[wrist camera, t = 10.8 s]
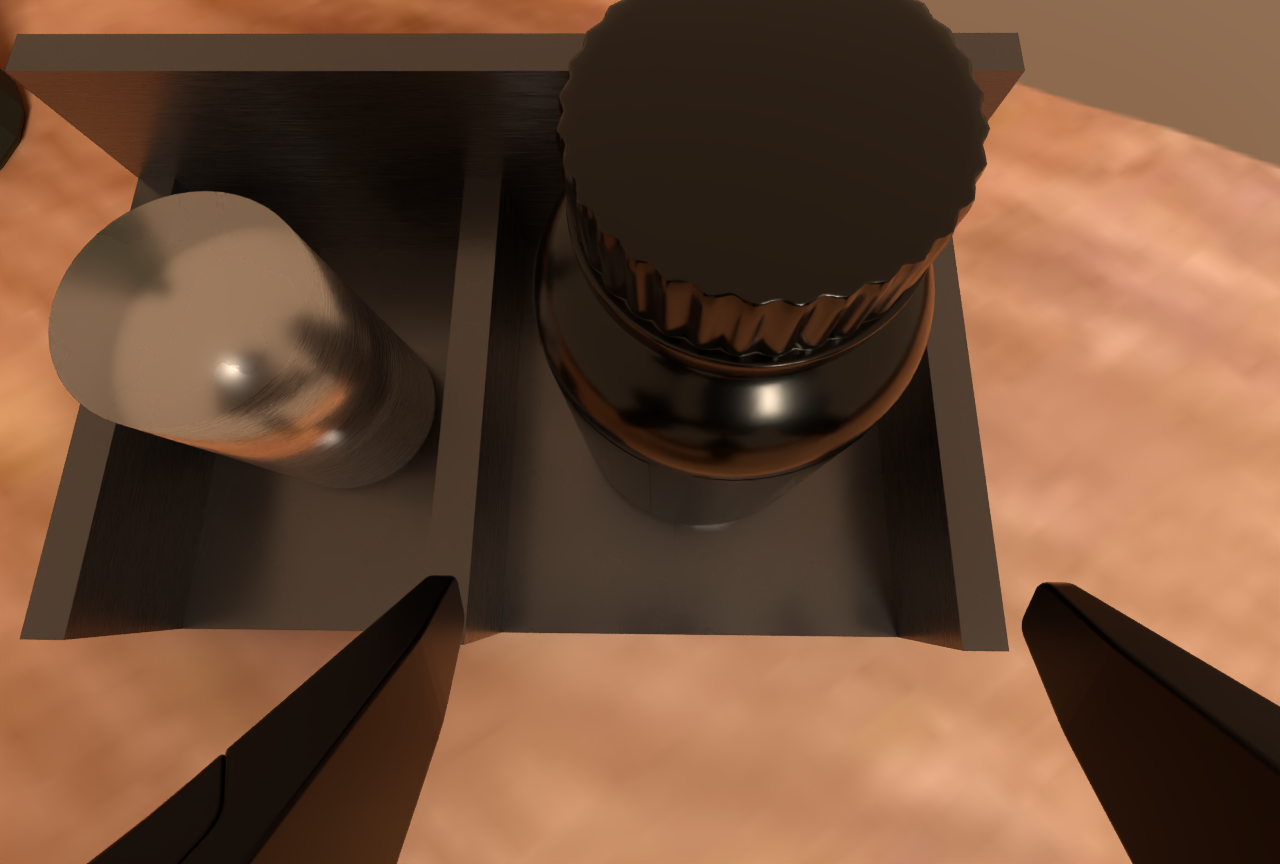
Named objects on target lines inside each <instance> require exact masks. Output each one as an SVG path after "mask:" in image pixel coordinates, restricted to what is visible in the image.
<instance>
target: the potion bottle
mask: <svg viewBox="0 0 1280 864" xmlns="http://www.w3.org/2000/svg"><path fill="white" fill-rule="evenodd" d="M24 119H25V115H24V110H23V106H22V102H21V99H20V95H19V92H18V88H17V85H16V83H15V82H14V81H13V80H12V79H11V78H10V77H9V76H8V75H7V74H6V73H5V72H4V71H2V70H1V69H0V170H1V169H2V167H3V166H4V164H5V163H6V161H7V160H8V159H9V157H10V156H11V154H12V153H13V151H14V150H15V149H16V147H17V146H18V144H19V141H20V137H21V133H22V128H23V124H24Z"/></svg>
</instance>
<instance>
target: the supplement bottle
mask: <svg viewBox="0 0 1280 864" xmlns="http://www.w3.org/2000/svg"><path fill="white" fill-rule="evenodd" d="M983 101H984V92H983V90H982V89H981V87H980V86H979V84H978V83H977V82H976V80H975V79H974V78H973V76H972V63H971V59H970V58H969V57H968V56H967V55H966V54H965V53H964V52H963V51H962V50H961V49H959V48H958V47H957V46H956V43H955V40H954V37H953V34H952V32H951V29H949V28H948V27H946V26H945V25H943V24H942V23H940V22H939V21H937V20H936V19H934V18H933V17H932V15H931V14H930V12H929V10H928V8H927V7H926V5H925V4H924V3H922V2H920V1H918V0H621V1H619V2H617V3H615V4H613V5H611V6H609V8H608V10H607V12H606V13H605V17H604V19H603V20H602V21H601V22H600V23H598V24H597V25H596V26H594V27H593V28H591V29H590V30H589V31H587V32H586V35H585V38H584V42H583V48H582V49H581V50H580V51H579V52H578V53H577V54H576V55H575V56H574V57H573V58H572V60H571V61H570V62H569V68H568V81H567V83H566V84H565V86H564V87H563V89H562V91H561V92H560V94H559V101H558V105H559V113H560V120H559V124H558V127H557V130H556V143H557V148H558V153H559V157H560V162H561V166H562V179H563V184H564V189H563V190H562V192H561V194H560V195H559V197H558V199H557V200H556V202H555V204H554V205H553V207H552V210H551V212H550V214H549V216H548V218H547V220H546V223H545V225H544V228H543V231H542V234H541V237H540V239H539V243H538V247H537V251H536V256H535V262H534V270H533V284H532V298H533V309H534V317H535V322H536V327H537V331H538V335H539V338H540V341H541V344H542V348H543V351H544V354H545V357H546V360H547V362H548V364H549V367H550V369H551V371H552V373H553V376H554V378H555V380H556V382H557V384H558V386H559V388H560V390H561V393H562V395H563V397H564V399H565V401H566V403H567V405H568V407H569V409H570V411H571V413H572V415H573V417H574V419H575V421H576V423H577V425H578V427H579V430H580V432H581V434H582V436H583V438H584V440H585V442H586V444H587V446H588V448H589V450H590V452H591V454H592V456H593V458H594V460H595V461H596V463H597V465H598V466H599V468H600V470H601V471H602V473H603V474H604V476H605V477H606V478H607V480H608V481H609V482H610V483H611V485H612V486H613V487H614V488H615V489H616V490H617V491H618V492H619V493H620V494H621V495H622V496H623V497H625V498H626V499H627V500H629V501H630V502H631V503H632V504H634V505H635V506H637V507H639V508H640V509H642V510H643V511H645V512H647V513H649V514H652V515H654V516H656V517H659V518H661V519H664V520H668V521H671V522H675V523H680V524H686V525H716V524H723V523H728V522H732V521H736V520H739V519H742V518H745V517H747V516H749V515H752V514H754V513H756V512H758V511H760V510H761V509H763V508H765V507H766V506H768V505H770V504H771V503H773V502H774V501H776V500H777V499H778V498H780V497H781V496H783V495H784V494H785V493H787V492H788V491H789V490H791V489H792V488H793V487H795V486H796V485H798V484H799V483H800V482H802V481H803V480H804V479H806V478H807V477H808V476H810V475H811V474H812V473H814V472H815V471H817V470H818V469H819V468H821V467H822V466H823V465H825V464H826V463H827V462H829V461H830V460H832V459H833V458H834V457H836V456H837V455H838V454H840V453H841V452H842V451H844V450H845V449H846V448H848V447H849V446H850V445H852V444H853V443H855V442H856V441H857V440H859V439H860V438H861V437H862V436H863V435H865V434H866V433H867V432H868V431H869V430H870V429H871V428H872V427H873V426H874V425H875V424H877V422H878V421H880V420H881V419H882V417H883V416H884V415H885V414H886V413H887V412H888V411H889V410H890V409H891V407H892V406H893V405H894V404H895V403H896V402H897V400H898V399H899V398H900V396H901V395H902V393H903V392H904V390H905V389H906V388H907V386H908V385H909V383H910V381H911V379H912V377H913V375H914V374H915V372H916V370H917V368H918V366H919V363H920V361H921V358H922V356H923V353H924V351H925V348H926V345H927V342H928V338H929V334H930V331H931V325H932V319H933V313H934V298H935V285H934V269H933V263H932V262H933V261H934V260H935V259H936V258H937V256H938V255H939V254H940V253H941V252H942V250H943V249H944V248H945V247H946V245H947V244H948V243H949V241H950V239H951V237H952V235H953V233H954V230H955V228H956V226H957V225H958V224H959V223H960V222H961V220H962V219H963V218H964V217H965V215H966V214H967V213H968V211H969V210H970V208H971V206H972V204H973V202H974V200H975V190H976V186H975V184H976V182H977V181H978V180H979V178H980V177H981V175H982V173H983V172H984V170H985V167H986V165H987V162H986V156H985V151H984V147H983V143H984V141H985V139H986V137H987V135H988V132H989V130H990V127H989V125H988V122H987V120H986V118H985V116H984V114H983V112H982V104H983Z"/></svg>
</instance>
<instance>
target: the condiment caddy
mask: <svg viewBox="0 0 1280 864" xmlns="http://www.w3.org/2000/svg"><path fill="white" fill-rule="evenodd" d="M952 34H953V37H954V40H955V43H956V46H957V47H958V48H959V49H961V50H962V51H963V52H964V53H965V54H966V55H967V56H968V57H969V58H970V59H971V63H972V76H973V78H974V79H975V80H976V82H977V83H978V84H979V86H980V87H981V89H982V90H983V92H984V101H983V104H982V112H983V114H984V116H985V118H986V120H987V121H988V120H989V119H990V117H991V116H992V115H993V113H994V112H995V111H996V109H997V108H998V106H999V105H1000V104H1001V102H1002V101H1003V100H1004V98H1005V97H1006V96H1007V94H1008V93H1009V92H1010V90H1011V89H1012V87H1013V86H1014V85H1015V83H1016V82H1017V81H1018V79H1019V78H1020V76H1021V75H1022V74H1023V72H1024V71H1025V69H1024V64H1023V58H1022V52H1021V48H1020V42H1019V37H1018V33H952ZM585 35H586V34H17V36H16V39H15V42H14V45H13V48H12V51H11V54H10V57H9V60H8V63H7V66H6V69H5V72H6V73H8V74H9V75H10V76H11V77H13V78H14V79H15V80H16V81H18V82H19V83H20V84H21V85H23V86H24V87H25V88H26V89H28V90H29V91H30V92H31V93H33V94H34V95H35V96H36V97H38V98H39V99H40V100H41V101H43V102H44V103H45V104H46V105H48V106H49V107H50V108H51V109H53V110H54V111H55V112H56V113H58V114H59V115H60V116H61V117H63V118H64V119H65V120H66V121H68V122H69V123H70V124H71V125H73V126H74V127H75V128H76V129H78V130H79V131H80V132H81V133H83V134H84V135H85V136H86V137H88V138H89V139H90V140H91V141H93V142H94V143H95V144H96V145H98V146H99V147H100V148H101V149H103V150H104V151H105V152H106V153H108V154H109V155H110V156H111V157H113V158H114V159H115V160H116V161H118V162H119V163H120V164H121V165H123V166H124V167H125V168H126V169H128V170H129V171H130V172H131V173H133V174H134V175H135V176H136V177H138V178H139V179H138V183H137V187H136V190H135V194H134V198H133V202H132V206H131V210H130V211H129V212H127V213H125V214H124V215H122V216H121V217H119V218H118V219H116V220H115V221H113V222H112V223H110V224H109V225H108V226H106V227H105V228H104V229H103V230H101V231H100V232H99V233H98V234H97V235H96V236H95V237H94V238H93V239H92V240H91V241H90V242H89V243H88V244H87V245H86V246H85V247H84V248H83V249H82V250H81V252H80V253H79V254H78V255H77V256H76V258H75V259H74V261H73V262H72V264H71V265H70V267H69V268H68V270H67V271H66V273H65V275H64V277H63V279H62V281H61V283H60V285H59V287H58V289H57V292H56V295H55V298H54V301H53V304H52V309H51V313H50V318H49V332H48V335H49V347H50V353H51V357H52V361H53V364H54V367H55V369H56V371H57V374H58V376H59V378H60V380H61V381H62V383H63V384H64V386H65V387H66V389H67V390H68V391H69V392H70V394H71V395H72V396H73V397H74V398H75V399H76V400H77V401H78V402H79V403H81V404H80V407H79V411H78V415H77V419H76V423H75V427H74V431H73V435H72V438H71V442H70V446H69V450H68V454H67V458H66V462H65V466H64V469H63V473H62V477H61V481H60V485H59V489H58V493H57V497H56V500H55V504H54V508H53V512H52V516H51V520H50V524H49V528H48V531H47V535H46V539H45V543H44V547H43V551H42V555H41V559H40V562H39V566H38V570H37V574H36V578H35V582H34V586H33V590H32V593H31V597H30V601H29V605H28V609H27V613H26V617H25V621H24V624H23V628H22V632H21V636H20V639H35V640H67V639H78V638H88V637H99V636H109V635H120V634H130V633H141V632H151V631H162V630H172V629H264V630H348V631H365V630H366V629H367V628H368V627H369V626H370V625H371V624H373V623H374V622H375V621H376V620H377V619H378V618H380V617H381V616H382V615H383V614H384V613H385V612H387V611H388V610H389V609H390V608H391V607H392V606H393V605H395V604H396V603H397V602H398V601H399V600H400V599H402V598H403V597H404V596H405V595H406V594H407V593H408V592H410V591H411V590H412V589H413V588H414V587H415V586H417V585H418V584H419V583H420V582H421V581H422V580H424V579H425V578H426V577H428V576H431V575H451V576H454V577H455V578H456V579H457V581H458V585H459V590H460V595H461V600H462V605H463V609H464V629H463V633H462V638H461V643H460V645H465V644H468V643H471V642H474V641H477V640H480V639H483V638H486V637H489V636H492V635H495V634H498V633H501V632H517V633H601V634H685V635H769V636H853V637H900V638H905V639H909V640H914V641H919V642H924V643H928V644H933V645H938V646H943V647H948V648H952V649H957V650H962V651H1009V646H1008V639H1007V632H1006V625H1005V617H1004V610H1003V603H1002V595H1001V588H1000V581H999V574H998V566H997V559H996V552H995V544H994V537H993V530H992V523H991V515H990V508H989V501H988V493H987V486H986V479H985V471H984V464H983V457H982V450H981V442H980V435H979V428H978V420H977V413H976V406H975V399H974V391H973V384H972V377H971V369H970V362H969V355H968V348H967V340H966V333H965V326H964V318H963V311H962V304H961V296H960V289H959V282H958V275H957V267H956V260H955V253H954V245H953V238H952V237H951V239H950V241H949V243H948V244H947V245H946V247H945V248H944V249H943V250H942V252H941V253H940V254H939V255H938V256H937V258H936V259H935V260H934V261H933V262H932V263H933V269H934V285H935V298H934V313H933V319H932V325H931V331H930V334H929V338H928V342H927V345H926V348H925V351H924V353H923V356H922V358H921V361H920V363H919V366H918V368H917V370H916V372H915V374H914V375H913V377H912V379H911V381H910V383H909V385H908V386H907V388H906V389H905V390H904V392H903V393H902V395H901V396H900V398H899V399H898V400H897V402H896V403H895V404H894V405H893V406H892V407H891V409H890V410H889V411H888V412H887V413H886V414H885V415H884V416H883V417H882V419H881V420H880V421H878V422H877V424H875V425H874V426H873V427H872V428H871V429H870V430H869V431H868V432H867V433H866V434H865V435H863V436H862V437H861V438H860V439H859V440H857V441H856V442H855V443H853V444H852V445H850V446H849V447H848V448H846V449H845V450H844V451H842V452H841V453H840V454H838V455H837V456H836V457H834V458H833V459H832V460H830V461H829V462H827V463H826V464H825V465H823V466H822V467H821V468H819V469H818V470H817V471H815V472H814V473H812V474H811V475H810V476H808V477H807V478H806V479H804V480H803V481H802V482H800V483H799V484H798V485H796V486H795V487H793V488H792V489H791V490H789V491H788V492H787V493H785V494H784V495H783V496H781V497H780V498H778V499H777V500H776V501H774V502H773V503H771V504H770V505H768V506H766V507H765V508H763V509H761V510H760V511H758V512H756V513H754V514H752V515H749V516H747V517H745V518H742V519H739V520H736V521H732V522H728V523H723V524H716V525H686V524H680V523H675V522H671V521H668V520H664V519H661V518H659V517H656V516H654V515H652V514H649V513H647V512H645V511H643V510H642V509H640V508H639V507H637V506H635V505H634V504H632V503H631V502H630V501H629V500H627V499H626V498H625V497H623V496H622V495H621V494H620V493H619V492H618V491H617V490H616V489H615V488H614V487H613V486H612V485H611V483H610V482H609V481H608V480H607V478H606V477H605V476H604V474H603V473H602V471H601V470H600V468H599V466H598V465H597V463H596V461H595V460H594V458H593V456H592V454H591V452H590V450H589V448H588V446H587V444H586V442H585V440H584V438H583V436H582V434H581V432H580V430H579V427H578V425H577V423H576V421H575V419H574V417H573V415H572V413H571V411H570V409H569V407H568V405H567V403H566V401H565V399H564V397H563V395H562V393H561V390H560V388H559V386H558V384H557V382H556V380H555V378H554V376H553V373H552V371H551V369H550V367H549V364H548V362H547V360H546V357H545V354H544V351H543V348H542V344H541V341H540V338H539V335H538V331H537V327H536V322H535V317H534V309H533V298H532V284H533V270H534V262H535V256H536V251H537V247H538V243H539V239H540V237H541V234H542V231H543V228H544V225H545V223H546V220H547V218H548V216H549V214H550V212H551V210H552V207H553V205H554V204H555V202H556V200H557V199H558V197H559V195H560V194H561V192H562V190H563V189H564V184H563V179H562V166H561V162H560V157H559V153H558V148H557V143H556V130H557V127H558V124H559V120H560V113H559V105H558V101H559V94H560V92H561V91H562V89H563V87H564V86H565V84H566V83H567V81H568V68H569V62H570V61H571V60H572V58H573V57H574V56H575V55H576V54H577V53H578V52H579V51H580V50H581V49H582V48H583V42H584V38H585Z"/></svg>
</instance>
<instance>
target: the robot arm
mask: <svg viewBox="0 0 1280 864" xmlns="http://www.w3.org/2000/svg"><path fill="white" fill-rule="evenodd" d="M463 629H464V609H463V605H462V600H461V595H460V590H459V585H458V581H457V579H456V578H455V577H454V576H451V575H431V576H428V577H426V578H425V579H424V580H422V581H421V582H420V583H419V584H418V585H417V586H415V587H414V588H413V589H412V590H411V591H410V592H408V593H407V594H406V595H405V596H404V597H403V598H402V599H400V600H399V601H398V602H397V603H396V604H395V605H393V606H392V607H391V608H390V609H389V610H388V611H387V612H385V613H384V614H383V615H382V616H381V617H380V618H378V619H377V620H376V621H375V622H374V623H373V624H371V625H370V626H369V627H368V628H367V629H366V630H365V631H363V632H362V633H361V634H360V635H359V636H358V637H356V638H355V639H354V640H353V641H352V642H351V643H349V644H348V645H347V646H346V647H345V648H344V649H343V650H341V651H340V652H339V653H338V654H337V655H336V656H334V657H333V658H332V659H331V660H330V661H329V662H328V663H326V664H325V665H324V666H323V667H322V668H321V669H319V670H318V671H317V672H316V673H315V674H314V675H312V676H311V677H310V678H309V679H308V680H307V681H306V682H304V683H303V684H302V685H301V686H300V687H299V688H297V689H296V690H295V691H294V692H293V693H292V694H290V695H289V696H288V697H287V698H286V699H285V700H284V701H282V702H281V703H280V704H279V705H278V706H277V707H275V708H274V709H273V710H272V711H271V712H270V713H268V714H267V715H266V716H265V717H264V718H263V719H262V720H260V721H259V722H258V723H257V724H256V725H255V726H253V727H252V728H251V729H250V730H249V731H248V732H247V733H245V734H244V735H243V736H242V737H241V738H240V739H238V740H237V741H236V742H235V743H234V744H233V745H231V746H230V747H229V748H228V749H227V750H226V754H225V755H220V756H218V757H217V758H216V759H215V760H214V761H213V762H212V763H210V764H209V765H208V766H207V767H206V768H205V769H203V770H202V771H201V772H200V773H199V774H198V775H196V776H195V777H194V778H193V779H192V780H191V781H189V782H188V783H187V784H186V785H185V786H183V787H182V788H181V789H180V790H179V791H177V792H176V793H175V794H174V795H173V796H171V797H170V798H169V799H168V800H167V801H165V802H164V803H163V804H162V805H161V806H159V807H158V808H157V809H156V810H155V811H153V812H152V813H151V814H150V815H149V816H147V817H146V818H145V819H144V820H142V821H141V822H140V823H139V824H137V825H136V826H135V827H133V828H132V829H131V830H130V831H128V832H127V833H126V834H124V835H123V836H122V837H121V838H119V839H118V840H117V841H116V842H114V843H113V844H112V845H110V846H109V847H108V848H107V849H105V850H104V851H103V852H102V853H100V854H99V855H98V856H96V857H95V858H94V859H93V860H91V861H90V862H89V863H87V864H397V861H398V858H399V855H400V852H401V849H402V846H403V843H404V840H405V837H406V834H407V831H408V828H409V825H410V822H411V819H412V816H413V813H414V810H415V807H416V804H417V801H418V798H419V795H420V792H421V789H422V786H423V783H424V780H425V777H426V774H427V771H428V768H429V765H430V762H431V759H432V756H433V753H434V750H435V747H436V744H437V741H438V738H439V734H440V731H441V728H442V724H443V721H444V717H445V712H446V708H447V704H448V699H449V694H450V690H451V685H452V680H453V676H454V671H455V666H456V661H457V657H458V652H459V647H460V643H461V638H462V633H463ZM1022 632H1023V636H1024V638H1025V641H1026V643H1027V646H1028V648H1029V651H1030V653H1031V656H1032V658H1033V660H1034V663H1035V665H1036V668H1037V670H1038V673H1039V675H1040V677H1041V680H1042V682H1043V685H1044V687H1045V690H1046V692H1047V695H1048V697H1049V699H1050V702H1051V704H1052V707H1053V709H1054V712H1055V714H1056V716H1057V719H1058V721H1059V723H1060V725H1061V728H1062V730H1063V732H1064V734H1065V736H1066V738H1067V740H1068V742H1069V744H1070V746H1071V748H1072V750H1073V752H1074V754H1075V756H1076V758H1077V760H1078V761H1079V763H1080V765H1081V767H1082V769H1083V771H1084V773H1085V775H1086V777H1087V778H1088V780H1089V782H1090V784H1091V786H1092V788H1093V790H1094V792H1095V794H1096V795H1097V797H1098V799H1099V801H1100V803H1101V805H1102V807H1103V809H1104V811H1105V812H1106V814H1107V816H1108V818H1109V820H1110V822H1111V824H1112V826H1113V828H1114V830H1115V831H1116V833H1117V835H1118V837H1119V839H1120V841H1121V843H1122V845H1123V847H1124V848H1125V850H1126V852H1127V854H1128V856H1129V858H1130V860H1131V862H1132V864H1280V706H1278V705H1276V704H1275V703H1273V702H1271V701H1270V700H1268V699H1266V698H1265V697H1263V696H1261V695H1260V694H1258V693H1256V692H1254V691H1253V690H1251V689H1249V688H1248V687H1246V686H1244V685H1243V684H1241V683H1239V682H1238V681H1236V680H1234V679H1233V678H1231V677H1229V676H1227V675H1226V674H1224V673H1222V672H1221V671H1219V670H1217V669H1216V668H1214V667H1212V666H1211V665H1209V664H1207V663H1206V662H1204V661H1202V660H1201V659H1199V658H1197V657H1195V656H1194V655H1192V654H1190V653H1189V652H1187V651H1185V650H1184V649H1182V648H1180V647H1179V646H1177V645H1175V644H1174V643H1172V642H1170V641H1168V640H1167V639H1165V638H1163V637H1162V636H1160V635H1158V634H1157V633H1155V632H1153V631H1152V630H1150V629H1148V628H1147V627H1145V626H1143V625H1141V624H1140V623H1138V622H1136V621H1135V620H1133V619H1131V618H1130V617H1128V616H1126V615H1125V614H1123V613H1121V612H1120V611H1118V610H1116V609H1115V608H1113V607H1111V606H1109V605H1108V604H1106V603H1104V602H1103V601H1101V600H1099V599H1098V598H1096V597H1094V596H1093V595H1091V594H1089V593H1088V592H1086V591H1084V590H1082V589H1081V588H1079V587H1077V586H1076V585H1074V584H1071V583H1062V582H1045V583H1042V584H1040V585H1039V586H1038V587H1037V588H1036V590H1035V593H1034V595H1033V597H1032V599H1031V601H1030V604H1029V606H1028V608H1027V610H1026V612H1025V615H1024V617H1023V620H1022Z"/></svg>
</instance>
